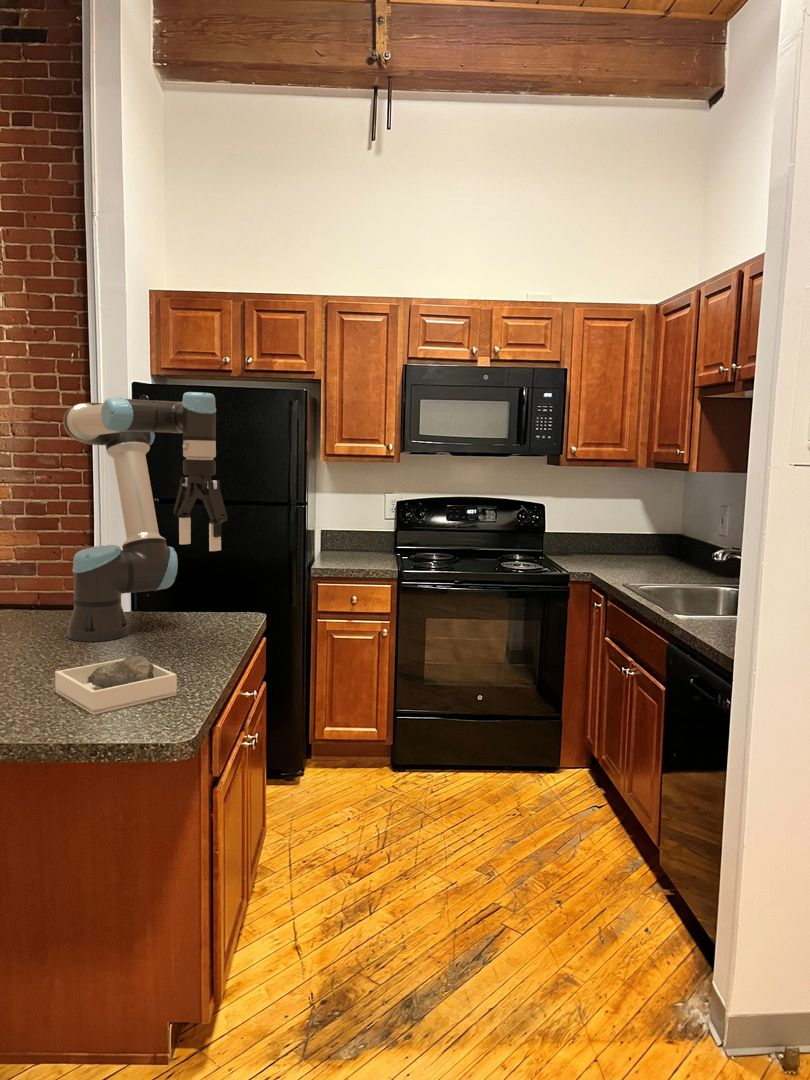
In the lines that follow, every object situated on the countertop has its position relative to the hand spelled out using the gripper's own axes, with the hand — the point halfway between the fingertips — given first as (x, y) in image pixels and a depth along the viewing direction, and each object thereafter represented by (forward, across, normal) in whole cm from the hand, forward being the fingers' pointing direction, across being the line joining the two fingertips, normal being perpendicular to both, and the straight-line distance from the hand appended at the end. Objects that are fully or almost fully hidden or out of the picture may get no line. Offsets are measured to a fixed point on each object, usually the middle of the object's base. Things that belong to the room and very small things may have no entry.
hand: (199, 547), depth 187 cm
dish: (+27, +14, -28) cm, 41 cm away
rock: (+26, +14, -27) cm, 40 cm away
